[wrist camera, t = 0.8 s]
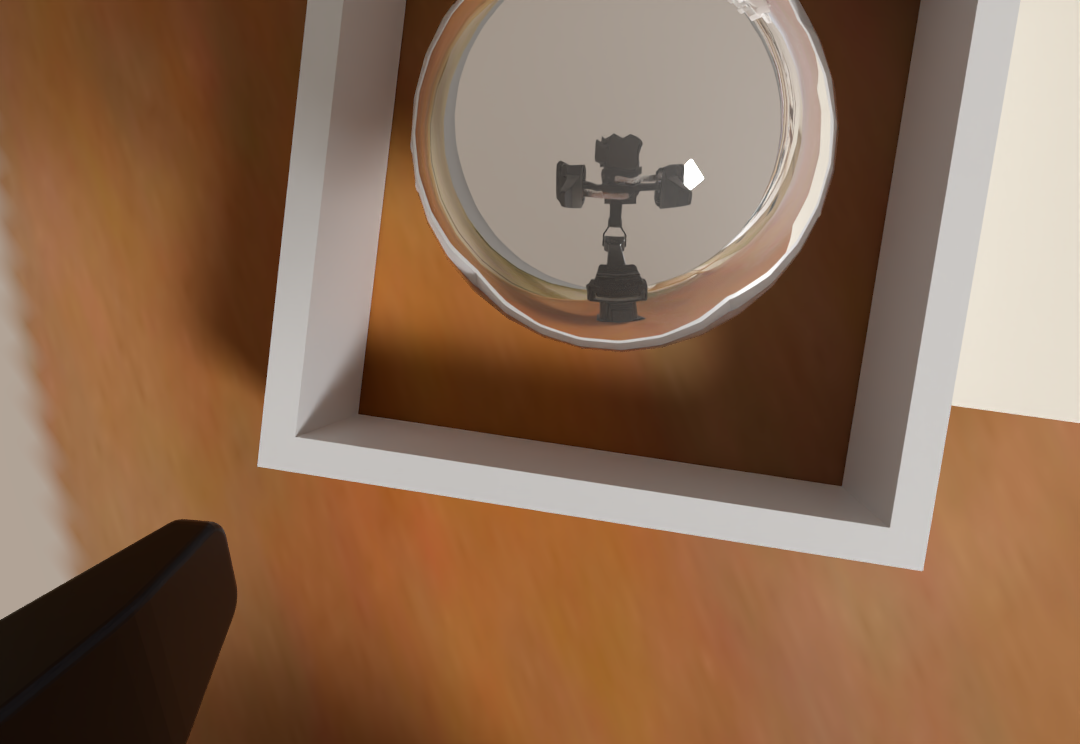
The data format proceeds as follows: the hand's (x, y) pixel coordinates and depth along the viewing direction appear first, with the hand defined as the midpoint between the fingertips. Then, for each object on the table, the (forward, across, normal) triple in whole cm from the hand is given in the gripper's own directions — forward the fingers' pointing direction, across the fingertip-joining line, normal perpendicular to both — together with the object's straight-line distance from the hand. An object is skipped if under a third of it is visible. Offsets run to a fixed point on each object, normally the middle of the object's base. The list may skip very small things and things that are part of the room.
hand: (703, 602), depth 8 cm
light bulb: (+17, +1, +2) cm, 17 cm away
